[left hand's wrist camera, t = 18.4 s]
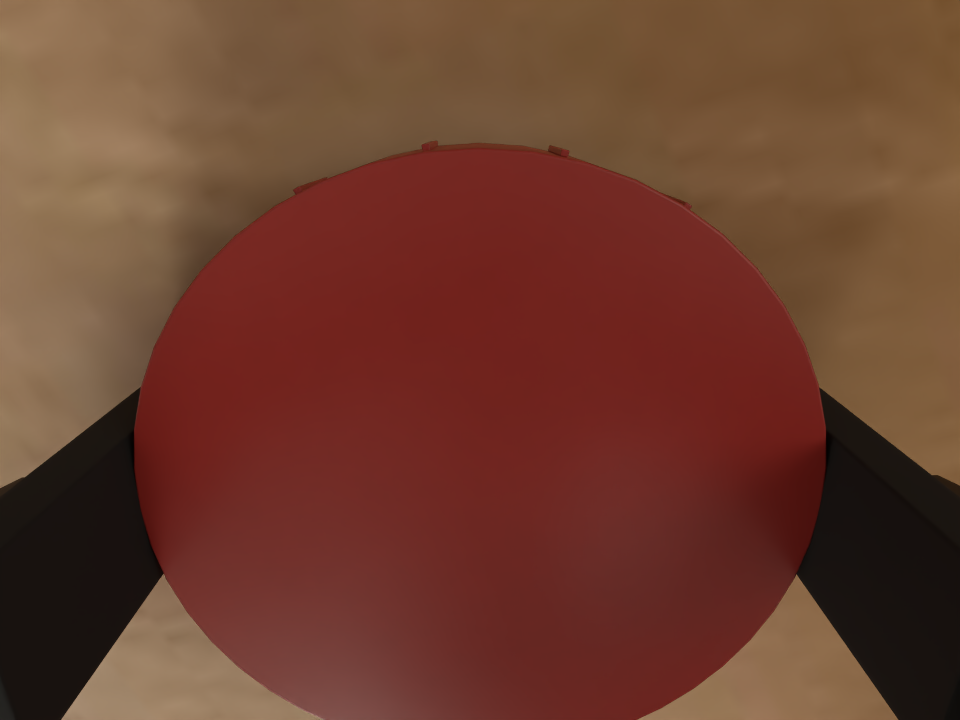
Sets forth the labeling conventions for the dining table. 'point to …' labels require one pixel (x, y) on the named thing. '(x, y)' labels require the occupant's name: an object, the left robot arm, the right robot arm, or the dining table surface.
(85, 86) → the dining table surface
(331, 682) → the lid
